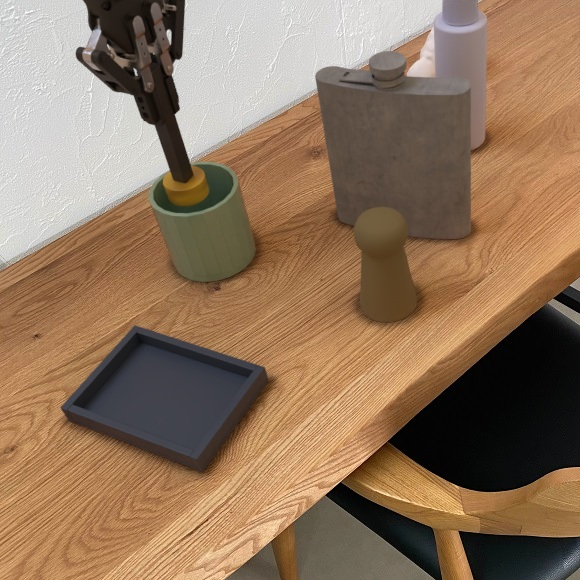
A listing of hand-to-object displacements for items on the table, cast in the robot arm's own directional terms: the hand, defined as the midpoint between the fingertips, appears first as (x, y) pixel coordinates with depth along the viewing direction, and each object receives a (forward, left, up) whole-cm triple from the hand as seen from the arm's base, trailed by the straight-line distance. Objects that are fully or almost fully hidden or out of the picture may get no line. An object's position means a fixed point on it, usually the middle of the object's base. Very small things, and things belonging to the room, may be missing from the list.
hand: (163, 116), depth 78 cm
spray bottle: (+19, +30, -17) cm, 39 cm away
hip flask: (+19, +12, -17) cm, 28 cm away
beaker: (+1, 0, -17) cm, 17 cm away
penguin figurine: (+11, +42, -17) cm, 47 cm away
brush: (0, 0, -9) cm, 9 cm away
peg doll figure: (+23, 0, -17) cm, 29 cm away
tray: (+9, -20, -17) cm, 28 cm away
